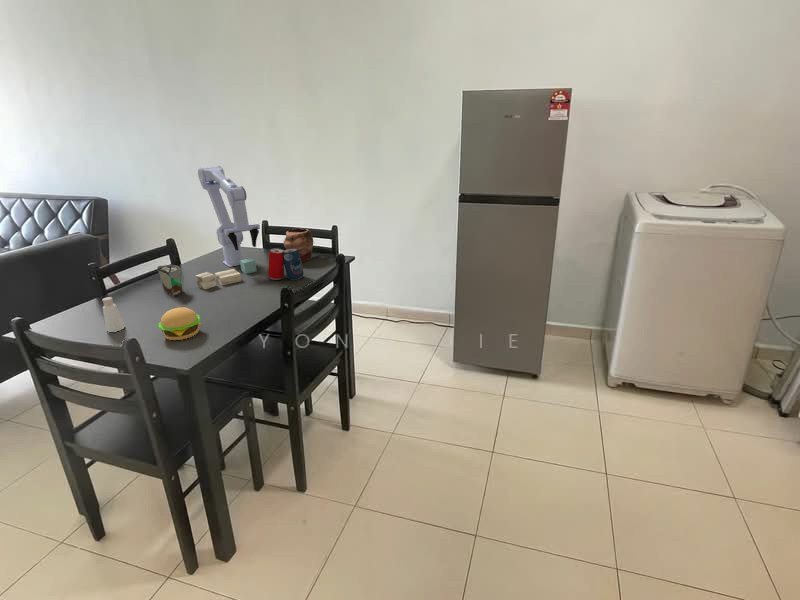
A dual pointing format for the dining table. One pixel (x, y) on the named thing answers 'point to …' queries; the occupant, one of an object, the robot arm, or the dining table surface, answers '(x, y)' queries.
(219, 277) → the beech base
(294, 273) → the soda can
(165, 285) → the food container
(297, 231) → the decorative planter
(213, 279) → the maple cube
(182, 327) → the hamburger
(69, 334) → the dining table surface
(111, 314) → the pepper shaker
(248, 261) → the teal cube
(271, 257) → the beverage can
